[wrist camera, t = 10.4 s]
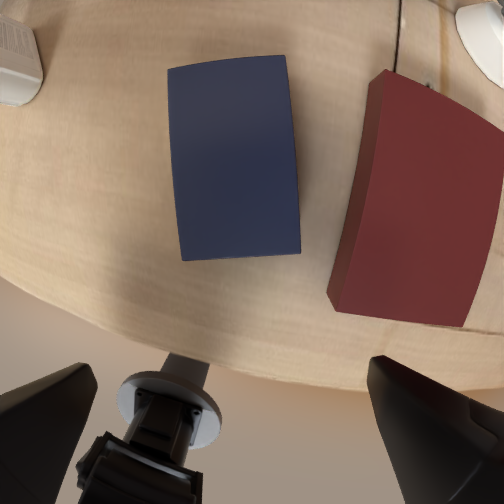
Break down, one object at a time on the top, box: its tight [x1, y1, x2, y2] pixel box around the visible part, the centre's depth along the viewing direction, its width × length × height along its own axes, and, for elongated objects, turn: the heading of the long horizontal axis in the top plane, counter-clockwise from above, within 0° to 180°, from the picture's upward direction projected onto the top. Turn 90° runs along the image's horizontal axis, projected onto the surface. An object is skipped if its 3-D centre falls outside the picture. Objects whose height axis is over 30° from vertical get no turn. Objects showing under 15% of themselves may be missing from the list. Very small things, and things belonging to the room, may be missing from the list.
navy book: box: [167, 55, 301, 261], centre depth 16 cm, size 11×6×4 cm, turn 4°
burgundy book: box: [326, 69, 504, 327], centre depth 16 cm, size 15×11×3 cm
